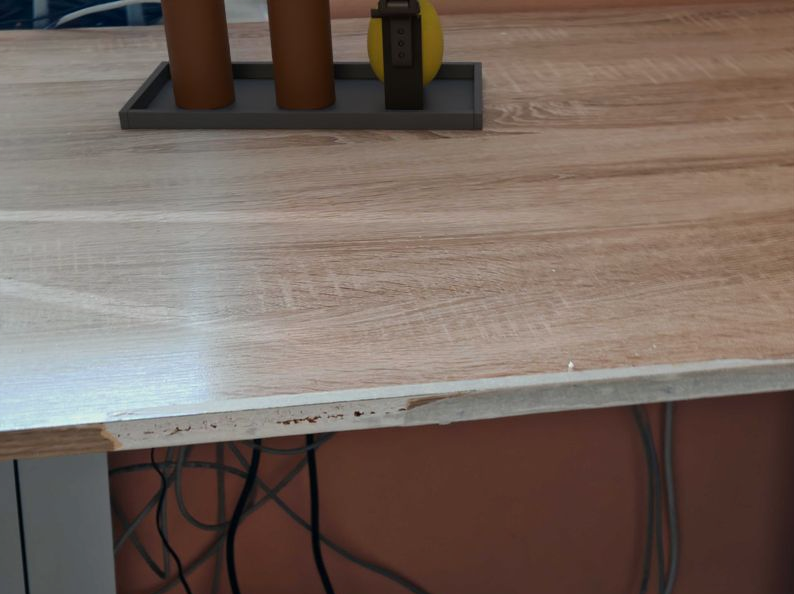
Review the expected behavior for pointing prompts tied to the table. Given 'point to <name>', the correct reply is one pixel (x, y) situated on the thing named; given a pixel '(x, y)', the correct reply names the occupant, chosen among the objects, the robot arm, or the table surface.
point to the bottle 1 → (199, 53)
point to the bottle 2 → (302, 53)
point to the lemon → (430, 43)
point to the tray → (352, 110)
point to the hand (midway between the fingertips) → (406, 93)
